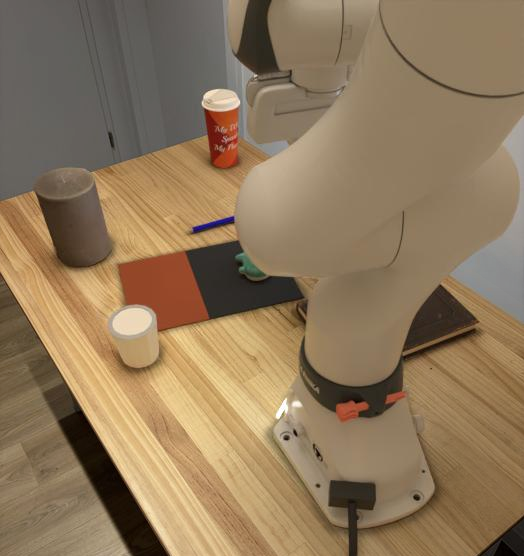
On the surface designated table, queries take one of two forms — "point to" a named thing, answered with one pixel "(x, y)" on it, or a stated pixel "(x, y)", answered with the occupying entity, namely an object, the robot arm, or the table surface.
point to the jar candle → (135, 335)
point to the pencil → (211, 224)
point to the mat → (200, 285)
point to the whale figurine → (250, 268)
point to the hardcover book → (430, 322)
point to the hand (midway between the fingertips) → (314, 159)
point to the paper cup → (222, 126)
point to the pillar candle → (73, 216)
